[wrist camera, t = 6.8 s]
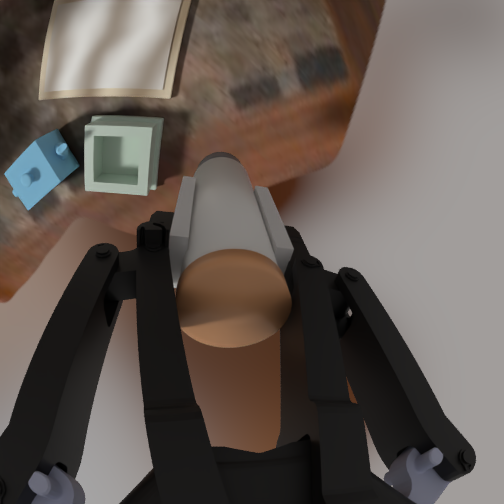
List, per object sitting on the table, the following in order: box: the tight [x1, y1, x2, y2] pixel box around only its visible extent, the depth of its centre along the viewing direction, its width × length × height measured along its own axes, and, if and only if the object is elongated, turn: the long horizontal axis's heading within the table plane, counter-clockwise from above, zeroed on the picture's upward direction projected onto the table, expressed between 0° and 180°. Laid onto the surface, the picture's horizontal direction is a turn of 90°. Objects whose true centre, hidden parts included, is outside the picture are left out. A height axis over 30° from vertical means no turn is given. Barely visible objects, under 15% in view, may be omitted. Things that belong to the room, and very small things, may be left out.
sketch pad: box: [39, 0, 192, 100], centre depth 22 cm, size 18×14×1 cm
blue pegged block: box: [4, 129, 80, 210], centre depth 27 cm, size 12×6×8 cm, turn 113°
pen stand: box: [84, 115, 164, 196], centre depth 30 cm, size 9×9×4 cm
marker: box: [175, 152, 292, 348], centre depth 16 cm, size 4×4×14 cm
